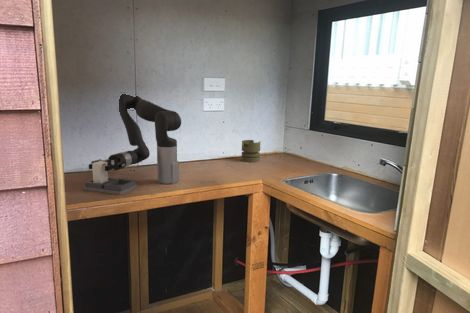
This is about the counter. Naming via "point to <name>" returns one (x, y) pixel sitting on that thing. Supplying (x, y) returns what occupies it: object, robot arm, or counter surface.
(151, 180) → the counter surface
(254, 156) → the piston
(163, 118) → the robot arm
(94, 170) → the block
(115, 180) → the grey flat tray
